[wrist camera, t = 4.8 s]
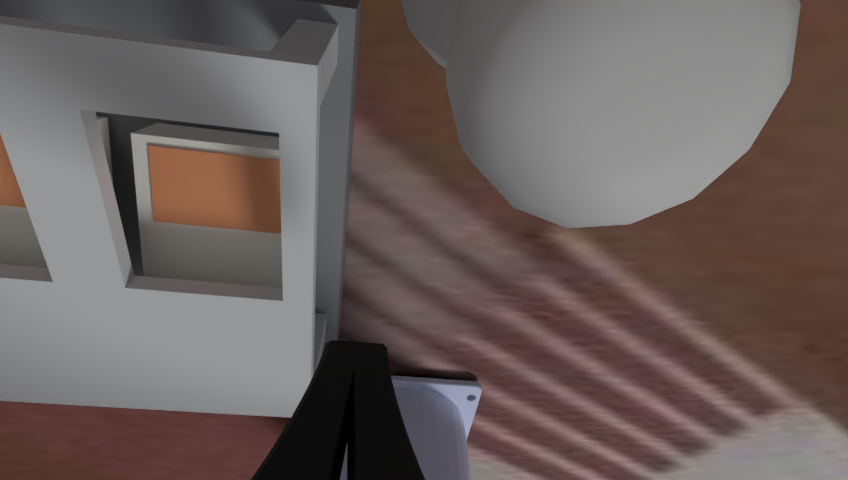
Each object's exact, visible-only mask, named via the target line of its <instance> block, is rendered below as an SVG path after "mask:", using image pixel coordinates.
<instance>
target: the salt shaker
mask: <svg viewBox="0 0 848 480" xmlns="http://www.w3.org/2000/svg"><path fill="white" fill-rule="evenodd" d="M401 2H402V6H403V10H404V14H405V18H406V22H407V25H408V29H409V30H410V32H411V33H412V34H413V35H414V36H415V37H416V39H417V40H418V41H419V42H420V43H421V44H422V46H423V47H424V48H425V49H426V50H427V51H428V53H429V54H430V55H431V56H432V57H433V58H434V60H435V61H436V62H437V63H439V64H440V65H441V66H443V67H444V68H446V85H447V90H448V94H449V98H450V102H451V107H452V111H453V115H454V120H455V124H456V128H457V132H458V137H459V141H460V145H461V148H462V149H463V151H464V152H465V154H466V155H467V156H468V158H469V159H470V160H471V162H472V163H473V164H474V165H475V166H476V167H477V169H478V170H479V171H480V172H481V173H482V174H483V175H484V176H485V177H486V178H487V179H488V180H489V182H490V183H491V184H492V185H493V186H494V187H495V188H496V189H497V190H498V191H499V192H500V193H501V195H502V196H503V197H504V198H505V199H506V200H507V201H508V202H509V203H510V204H511V205H512V207H514V208H517V209H519V210H522V211H524V212H527V213H529V214H532V215H535V216H537V217H540V218H542V219H545V220H548V221H550V222H553V223H555V224H558V225H560V226H563V227H566V228H578V227H594V226H610V225H627V224H632V223H634V222H637V221H639V220H641V219H644V218H646V217H649V216H651V215H654V214H656V213H659V212H661V211H663V210H666V209H668V208H671V207H673V206H676V205H678V204H681V203H683V202H686V201H688V200H690V199H693V198H694V197H695V196H696V195H698V194H699V193H700V192H701V191H702V190H703V189H704V188H706V187H707V186H708V185H709V184H710V183H711V182H712V181H714V180H715V179H716V178H717V177H718V176H719V175H720V174H722V173H723V172H724V171H725V170H726V169H727V168H729V167H730V166H731V165H732V164H733V163H734V162H735V161H737V160H738V159H739V158H740V157H741V156H742V155H743V154H745V153H746V152H747V151H748V150H749V149H750V147H751V146H752V144H753V142H754V141H755V139H756V137H757V136H758V134H759V132H760V131H761V129H762V128H763V126H764V124H765V123H766V121H767V119H768V118H769V116H770V114H771V113H772V111H773V109H774V108H775V106H776V104H777V103H778V101H779V100H780V98H781V96H782V95H783V93H784V91H785V90H786V88H787V86H788V85H789V83H790V79H791V71H792V64H793V57H794V50H795V42H796V35H797V28H798V20H799V13H800V6H801V5H800V2H799V0H401Z"/></svg>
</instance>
